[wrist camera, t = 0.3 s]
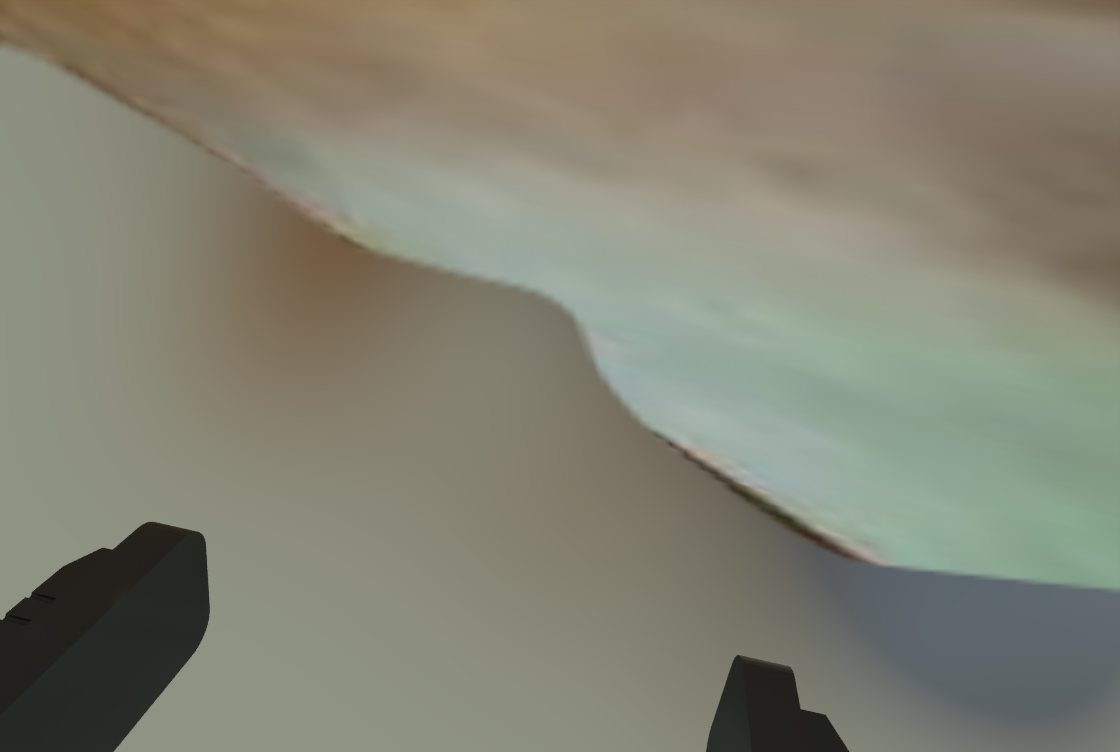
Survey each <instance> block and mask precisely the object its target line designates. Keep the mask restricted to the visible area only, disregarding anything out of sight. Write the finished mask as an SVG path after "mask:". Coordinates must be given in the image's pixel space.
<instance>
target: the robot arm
mask: <svg viewBox="0 0 1120 752" xmlns="http://www.w3.org/2000/svg"><path fill="white" fill-rule="evenodd" d="M209 613H210V605H209V589H208V573H207V555H206V542H205V539H204V536H203V535H202V534H201V533H200V532H196V531H192V530H187V529H183V528H179V527H174V526H170V525H165V524H160V523H156V522H147V523H145V524H143V525H141V526H140V527H139V528H137V529H136V530H135V531H134V532H133V533H132V534H131V535H129V536H128V537H127V538H126V539H125V540H123V541H122V542H121V543H120V544H119V545H118V546H117V547H116V548H114V549H113V550H111V549H106V548H101V549H99V550H97V551H95V552H93V553H90V554H88V555H86V556H84V557H82V558H80V559H78V560H76V561H74V562H72V563H69V564H67V565H65V566H63V567H62V568H61V569H59V571H57V572H56V573H55V574H53V575H52V576H51V577H50V578H49V579H47V580H46V581H45V582H44V583H42V584H41V585H40V586H39V587H38V588H36V589H35V590H34V591H33V592H32V595H31V597H30V598H24V599H23V600H22V601H21V602H19V603H18V604H17V605H16V606H15V607H13V608H12V609H11V610H10V611H9V612H7V613H6V616H5V618H4V619H3V620H0V752H113V751H114V750H115V749H116V748H117V747H118V746H119V744H120V743H121V742H122V741H123V739H124V738H125V737H126V736H127V735H128V733H129V732H130V731H131V730H132V728H133V727H134V726H135V725H136V724H137V722H138V721H139V720H140V719H141V717H142V716H143V715H144V714H145V713H146V711H147V710H148V709H149V708H150V706H151V705H152V704H153V703H154V701H155V700H156V699H157V697H159V695H160V694H161V693H162V692H163V690H164V689H165V688H166V687H167V686H168V684H169V683H170V682H171V681H172V679H173V678H174V677H175V676H176V675H177V673H178V672H179V671H180V670H181V668H182V667H183V666H184V665H185V664H186V662H187V661H188V660H189V659H190V657H191V656H192V655H193V654H194V652H195V651H196V649H197V648H198V646H199V644H200V642H201V640H202V638H203V636H204V633H205V631H206V628H207V625H208V620H209ZM706 752H849V750H848V749H847V747H846V746H845V744H844V743H843V741H842V740H841V738H840V737H839V735H838V734H837V732H836V730H835V729H834V727H833V726H832V724H831V723H830V721H829V720H828V718H827V716H826V715H824V714H819V713H815V712H810V711H806V710H801V709H800V704H799V698H798V693H797V688H796V682H795V677H794V673H793V671H792V669H791V667H789V666H785V665H781V664H776V663H771V662H767V661H763V660H758V659H753V658H749V657H745V656H740V655H737V656H736V657H735V659H734V661H733V663H732V666H731V669H730V672H729V675H728V678H727V681H726V684H725V687H724V690H723V693H722V696H721V699H720V702H719V705H718V708H717V711H716V714H715V717H714V720H713V723H712V726H711V730H710V733H709V738H708V743H707V749H706Z"/></svg>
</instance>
